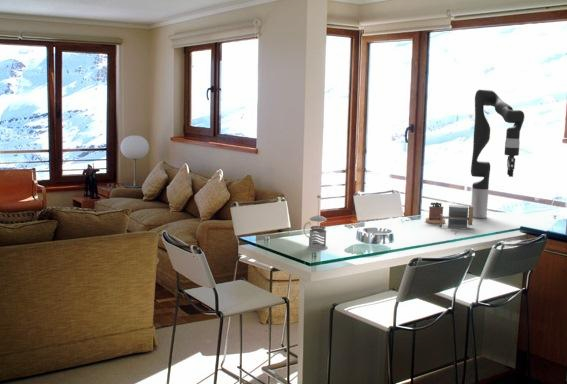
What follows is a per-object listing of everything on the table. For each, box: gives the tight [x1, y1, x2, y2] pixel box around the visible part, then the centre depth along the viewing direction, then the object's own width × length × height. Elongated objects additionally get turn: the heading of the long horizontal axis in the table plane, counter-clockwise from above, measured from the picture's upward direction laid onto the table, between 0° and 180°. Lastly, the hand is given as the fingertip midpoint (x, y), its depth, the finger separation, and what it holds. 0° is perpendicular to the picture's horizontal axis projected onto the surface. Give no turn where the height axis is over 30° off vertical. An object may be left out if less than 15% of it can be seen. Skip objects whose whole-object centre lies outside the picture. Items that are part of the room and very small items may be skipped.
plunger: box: [439, 204, 474, 227], centre depth 366 cm, size 6×17×12 cm, turn 77°
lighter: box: [428, 201, 444, 220], centre depth 378 cm, size 8×3×10 cm, turn 93°
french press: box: [303, 194, 329, 251], centre depth 310 cm, size 10×12×25 cm
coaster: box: [424, 217, 446, 225], centre depth 380 cm, size 11×11×2 cm
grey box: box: [447, 204, 469, 230], centre depth 366 cm, size 7×10×12 cm, turn 77°
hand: (510, 175), depth 370 cm, fingers open, 8 cm apart
